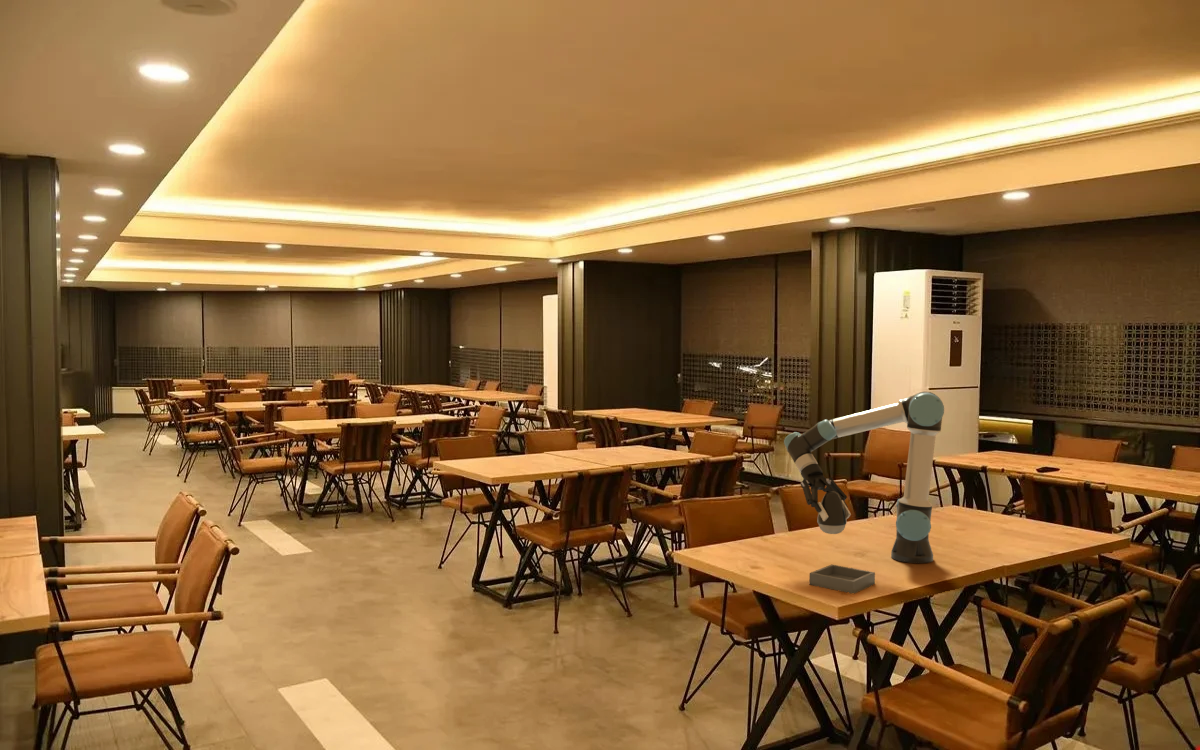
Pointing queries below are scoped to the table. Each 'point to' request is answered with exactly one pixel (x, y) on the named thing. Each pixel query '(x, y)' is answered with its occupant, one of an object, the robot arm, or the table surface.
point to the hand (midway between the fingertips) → (837, 517)
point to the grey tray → (842, 578)
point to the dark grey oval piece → (832, 514)
